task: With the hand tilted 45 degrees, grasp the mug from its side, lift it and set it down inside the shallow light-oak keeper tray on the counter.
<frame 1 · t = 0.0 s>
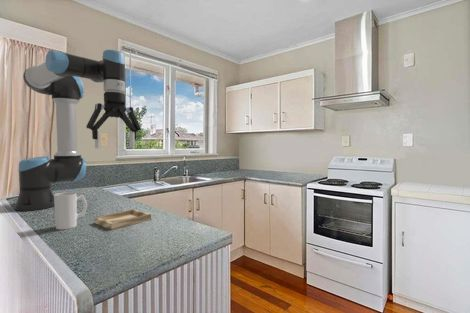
hand: (115, 148, 100), 28 cm above the counter, tool pointing down, fingers open, 13 cm apart
mug: (71, 226, 94), on the counter
keeper tray: (123, 221, 99), on the counter
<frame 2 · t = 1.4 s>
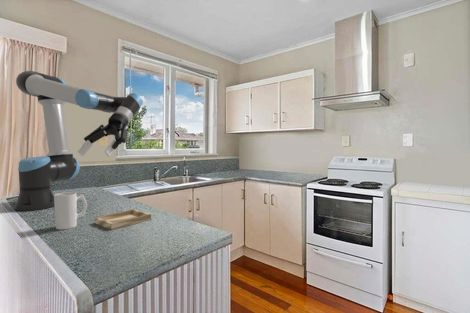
hand: (93, 154, 102), 26 cm above the counter, tool tilted 45°, fingers open, 13 cm apart
nothing on the counter moved.
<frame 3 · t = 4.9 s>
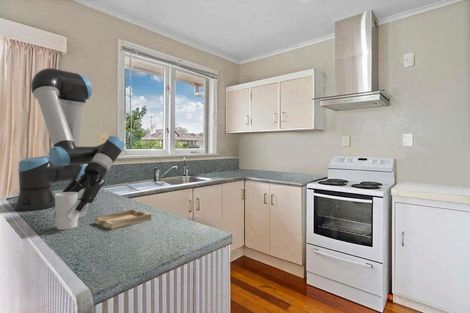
hand: (61, 217, 90), 4 cm above the counter, tool tilted 45°, fingers closed on mug, 7 cm apart
mug: (72, 226, 93), on the counter, touching gripper
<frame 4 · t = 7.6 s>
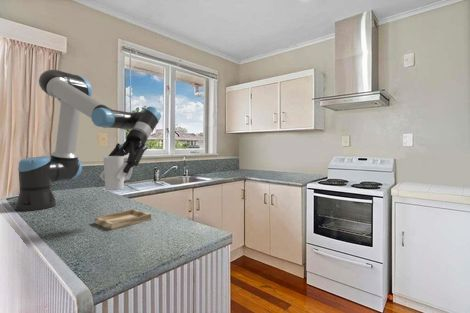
hand: (110, 178, 94), 17 cm above the counter, tool tilted 45°, fingers closed on mug, 7 cm apart
mug: (119, 188, 97), point 13 cm above the counter, touching gripper
when the fingers open (6 cm above the counter, at t = 10.0 s): mug drops 2 cm, resting on keeper tray.
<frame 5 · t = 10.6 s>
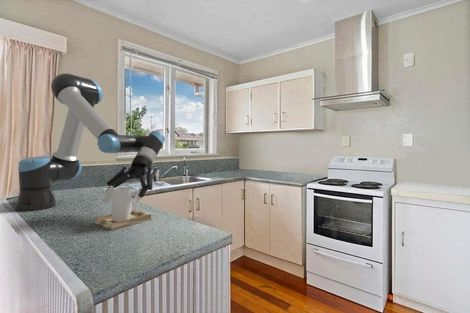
hand: (118, 202, 97), 8 cm above the counter, tool tilted 45°, fingers open, 13 cm apart
mug: (125, 219, 99), point 1 cm above the counter, touching keeper tray
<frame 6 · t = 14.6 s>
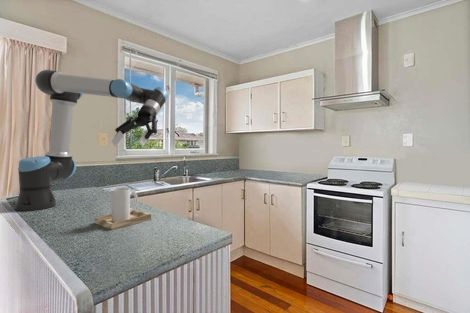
hand: (126, 143, 107), 30 cm above the counter, tool tilted 45°, fingers open, 13 cm apart
at the end: mug inside the target area on the keeper tray (0.6 cm from its centre), point 0.4 cm above the keeper tray's base; mug tilted 0°; the gripper is holding nothing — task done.
